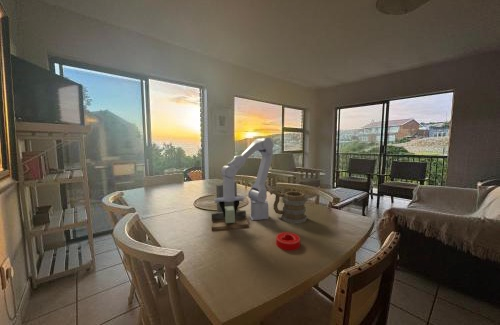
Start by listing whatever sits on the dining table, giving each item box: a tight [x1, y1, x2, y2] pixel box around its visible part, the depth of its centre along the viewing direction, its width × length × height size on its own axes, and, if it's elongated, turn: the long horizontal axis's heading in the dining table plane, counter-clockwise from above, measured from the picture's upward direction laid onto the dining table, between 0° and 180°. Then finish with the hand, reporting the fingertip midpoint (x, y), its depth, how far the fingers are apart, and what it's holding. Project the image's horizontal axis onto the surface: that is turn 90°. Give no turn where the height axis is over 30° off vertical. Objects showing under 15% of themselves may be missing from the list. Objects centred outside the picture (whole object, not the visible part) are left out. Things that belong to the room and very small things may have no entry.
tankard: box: [269, 189, 308, 225], centre depth 111 cm, size 20×13×15 cm, turn 65°
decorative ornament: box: [275, 231, 301, 251], centre depth 83 cm, size 10×10×3 cm
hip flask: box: [215, 180, 238, 213], centre depth 121 cm, size 16×4×20 cm, turn 143°
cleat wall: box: [211, 210, 250, 231], centre depth 103 cm, size 18×10×5 cm, turn 100°
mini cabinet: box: [225, 206, 235, 223], centre depth 102 cm, size 4×8×6 cm, turn 11°
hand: (229, 215), depth 103 cm, fingers closed on mini cabinet, 4 cm apart
